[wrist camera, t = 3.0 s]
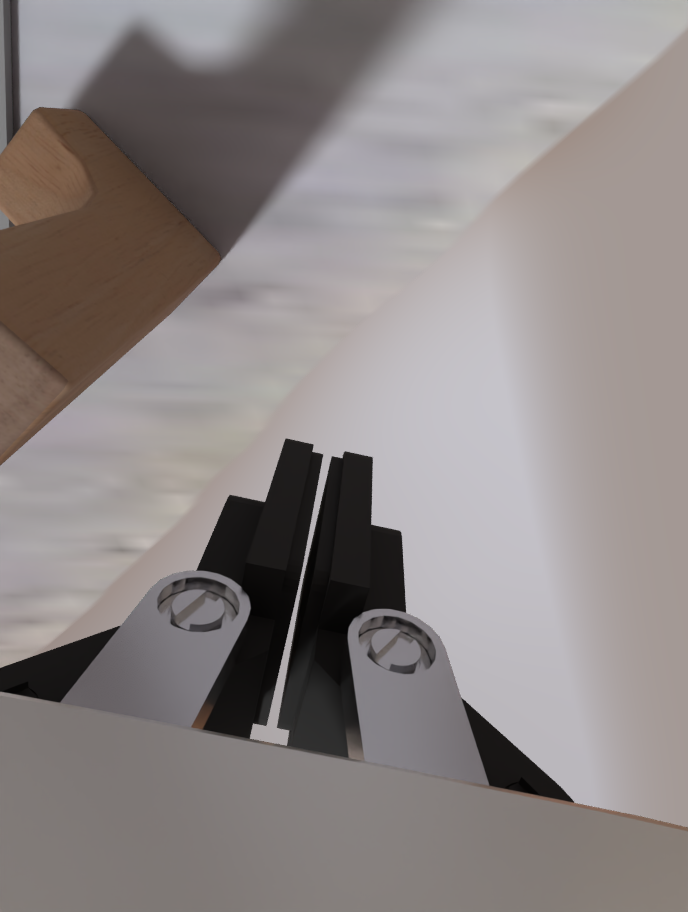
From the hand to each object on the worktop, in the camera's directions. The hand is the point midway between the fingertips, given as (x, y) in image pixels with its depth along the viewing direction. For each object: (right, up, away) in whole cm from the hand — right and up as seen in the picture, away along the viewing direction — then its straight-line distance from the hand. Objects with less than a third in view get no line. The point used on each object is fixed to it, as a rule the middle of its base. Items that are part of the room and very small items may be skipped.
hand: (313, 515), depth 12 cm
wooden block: (-10, +13, +19) cm, 25 cm away
